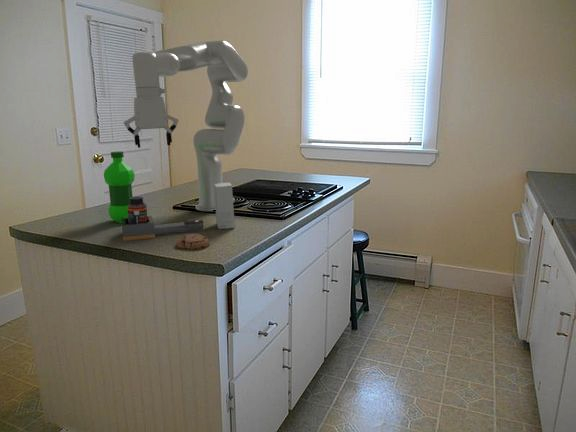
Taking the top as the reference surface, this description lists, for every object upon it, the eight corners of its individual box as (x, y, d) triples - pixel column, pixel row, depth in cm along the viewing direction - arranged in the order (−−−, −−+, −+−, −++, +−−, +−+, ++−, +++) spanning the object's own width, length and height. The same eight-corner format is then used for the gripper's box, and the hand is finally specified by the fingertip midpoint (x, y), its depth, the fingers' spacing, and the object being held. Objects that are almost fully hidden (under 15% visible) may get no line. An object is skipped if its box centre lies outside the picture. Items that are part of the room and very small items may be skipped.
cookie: (199, 252, 134) (198, 242, 133) (169, 248, 138) (168, 238, 137) (217, 243, 143) (216, 233, 142) (188, 239, 147) (187, 230, 146)
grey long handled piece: (200, 225, 162) (199, 211, 160) (205, 232, 153) (204, 218, 152) (122, 232, 153) (121, 218, 152) (123, 241, 144) (121, 225, 143)
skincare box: (235, 228, 158) (233, 185, 154) (217, 229, 156) (215, 186, 153) (232, 222, 166) (230, 181, 162) (215, 223, 164) (213, 182, 161)
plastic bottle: (124, 216, 175) (118, 149, 168) (144, 219, 169) (138, 151, 163) (102, 222, 166) (94, 152, 160) (122, 226, 161) (115, 154, 155)
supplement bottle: (142, 234, 147) (139, 199, 144) (125, 233, 148) (122, 199, 145) (151, 229, 152) (149, 196, 149) (135, 228, 153) (132, 195, 151)
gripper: (174, 91, 155) (178, 143, 160) (119, 93, 149) (126, 146, 154) (177, 92, 148) (182, 145, 153) (120, 94, 142) (127, 149, 147)
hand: (154, 146), depth 153 cm, fingers open, 9 cm apart
